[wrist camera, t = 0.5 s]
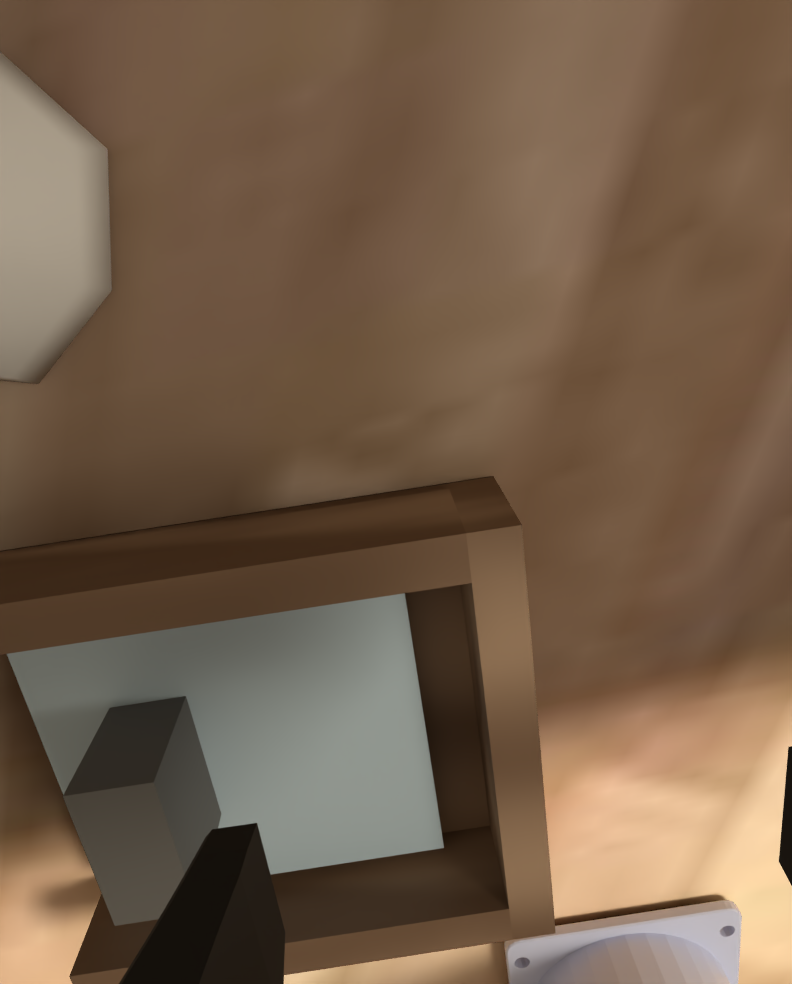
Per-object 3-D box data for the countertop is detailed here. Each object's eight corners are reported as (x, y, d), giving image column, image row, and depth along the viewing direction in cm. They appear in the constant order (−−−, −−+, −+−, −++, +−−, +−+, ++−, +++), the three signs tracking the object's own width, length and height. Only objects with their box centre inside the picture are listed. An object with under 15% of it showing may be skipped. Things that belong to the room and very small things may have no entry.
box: (527, 838, 22) (555, 933, 19) (120, 900, 22) (82, 1005, 19) (493, 476, 17) (521, 524, 14) (-16, 553, 17) (-93, 618, 14)
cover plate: (440, 820, 21) (458, 947, 17) (116, 870, 21) (64, 1008, 17) (399, 558, 18) (411, 642, 14) (18, 616, 18) (-73, 716, 14)
